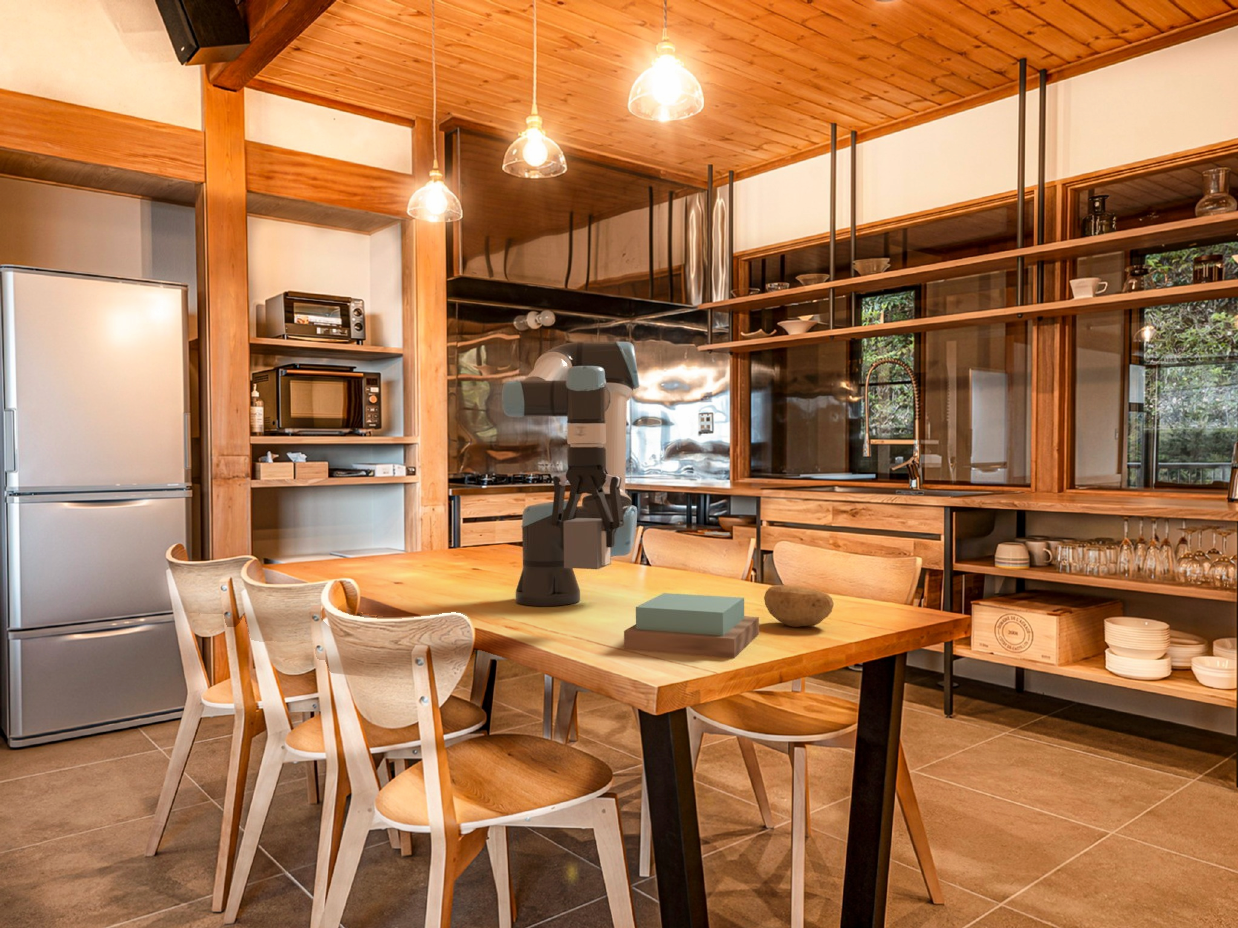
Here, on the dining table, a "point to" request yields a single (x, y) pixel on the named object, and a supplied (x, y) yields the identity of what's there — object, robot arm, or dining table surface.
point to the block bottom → (694, 640)
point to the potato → (798, 605)
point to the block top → (690, 614)
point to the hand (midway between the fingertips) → (587, 562)
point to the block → (583, 543)
